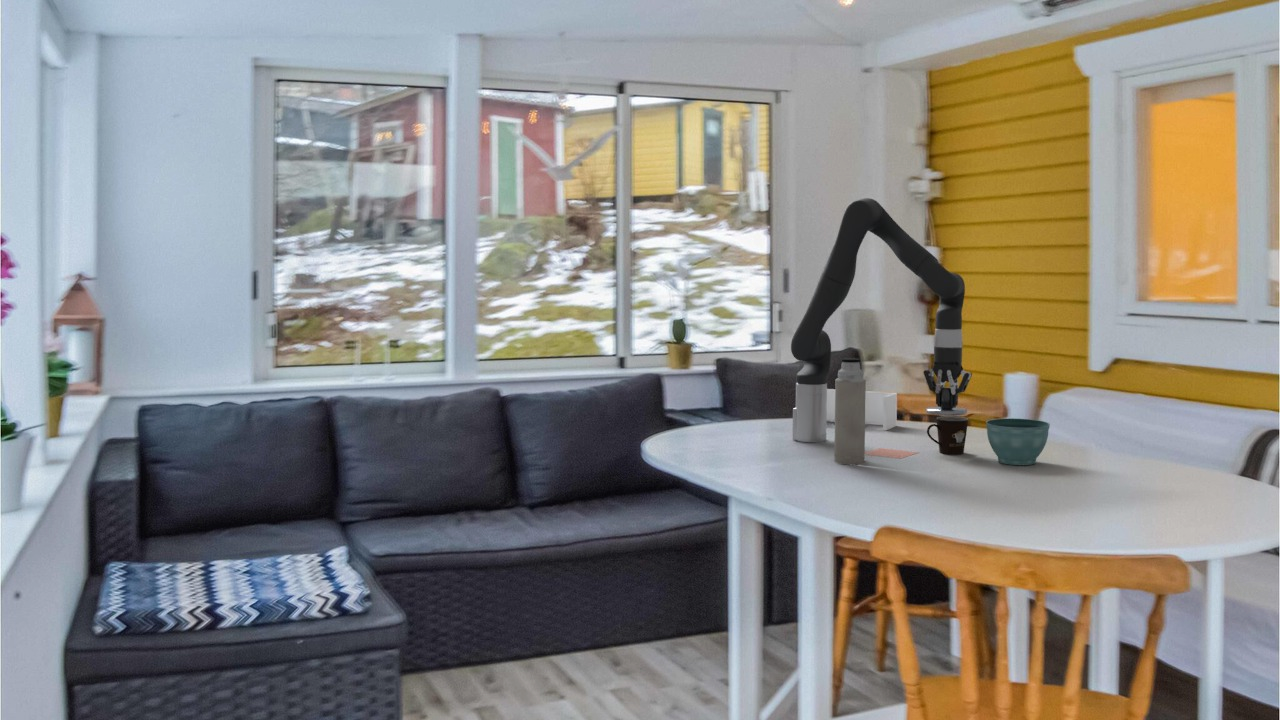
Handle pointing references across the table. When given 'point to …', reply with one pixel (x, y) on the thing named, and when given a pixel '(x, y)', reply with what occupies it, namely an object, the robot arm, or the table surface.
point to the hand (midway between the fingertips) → (946, 406)
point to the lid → (946, 405)
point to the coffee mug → (950, 434)
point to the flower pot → (1017, 439)
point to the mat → (890, 453)
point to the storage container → (871, 408)
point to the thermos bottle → (850, 413)
